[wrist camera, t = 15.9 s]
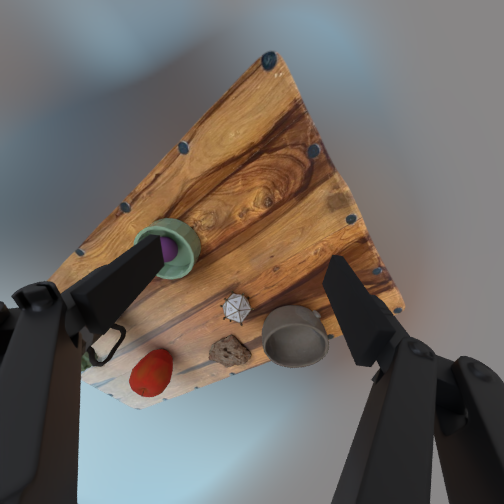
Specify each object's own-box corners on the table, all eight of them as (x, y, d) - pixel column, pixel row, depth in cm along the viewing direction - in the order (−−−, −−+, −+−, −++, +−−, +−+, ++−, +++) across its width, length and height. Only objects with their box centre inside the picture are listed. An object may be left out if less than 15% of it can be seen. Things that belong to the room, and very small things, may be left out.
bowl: (314, 289, 51) (324, 319, 42) (324, 333, 58) (334, 365, 49) (253, 302, 54) (251, 331, 45) (270, 341, 62) (271, 373, 53)
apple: (184, 349, 67) (166, 394, 54) (174, 365, 72) (156, 410, 60) (151, 336, 64) (123, 380, 52) (143, 354, 70) (117, 398, 57)
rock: (232, 332, 61) (230, 342, 58) (256, 353, 66) (255, 364, 62) (200, 347, 65) (197, 357, 62) (224, 366, 70) (223, 377, 67)
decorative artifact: (67, 343, 69) (73, 358, 74) (48, 361, 63) (56, 377, 68) (95, 348, 70) (99, 363, 75) (78, 367, 64) (84, 382, 68)
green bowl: (142, 215, 43) (127, 223, 39) (199, 221, 43) (191, 230, 38) (152, 263, 50) (140, 275, 45) (202, 269, 50) (195, 281, 45)
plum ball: (161, 231, 45) (141, 238, 40) (183, 236, 44) (165, 243, 39) (163, 254, 48) (144, 263, 42) (183, 259, 46) (167, 269, 41)
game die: (239, 283, 56) (245, 286, 46) (255, 307, 56) (263, 315, 46) (213, 301, 54) (213, 307, 44) (229, 325, 54) (232, 337, 44)
